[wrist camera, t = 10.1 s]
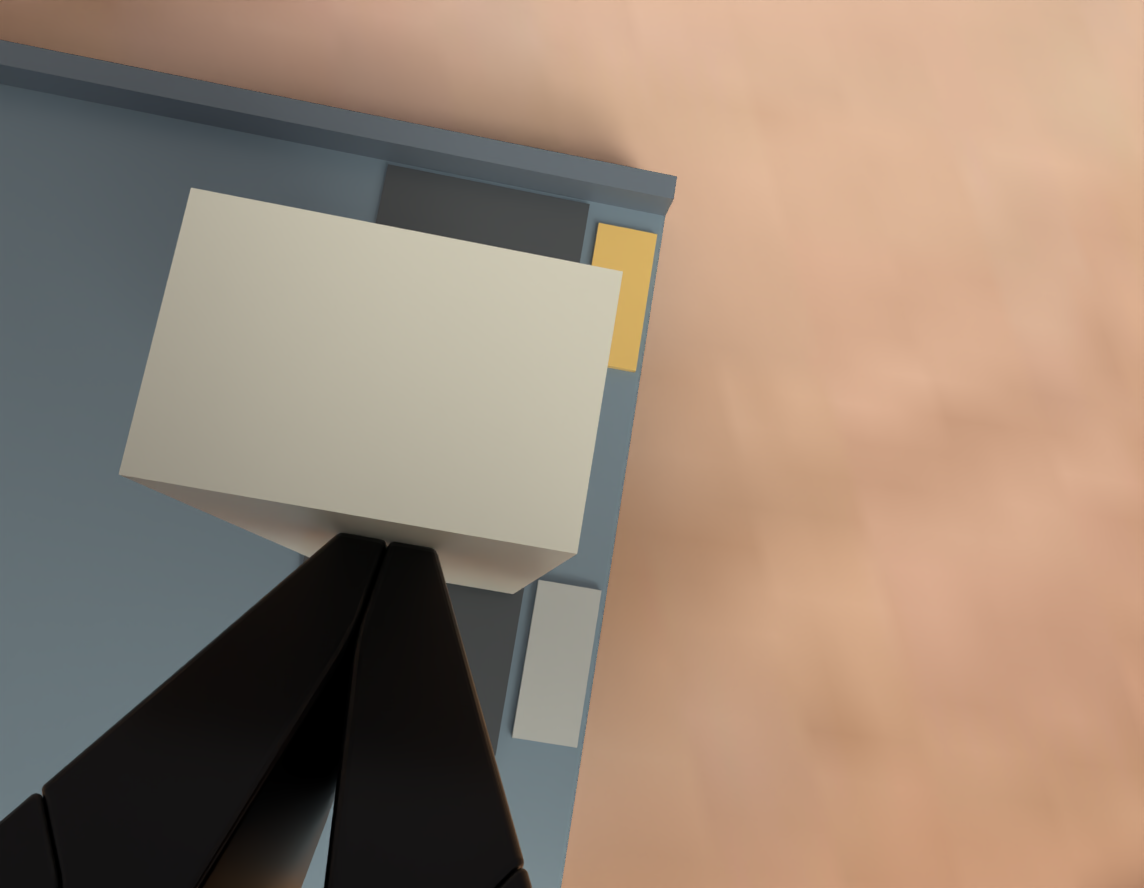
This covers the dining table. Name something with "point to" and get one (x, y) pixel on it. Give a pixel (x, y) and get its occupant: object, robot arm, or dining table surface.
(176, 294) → the cream tall block
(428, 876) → the robot arm
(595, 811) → the dining table surface
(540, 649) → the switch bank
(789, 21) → the dining table surface
